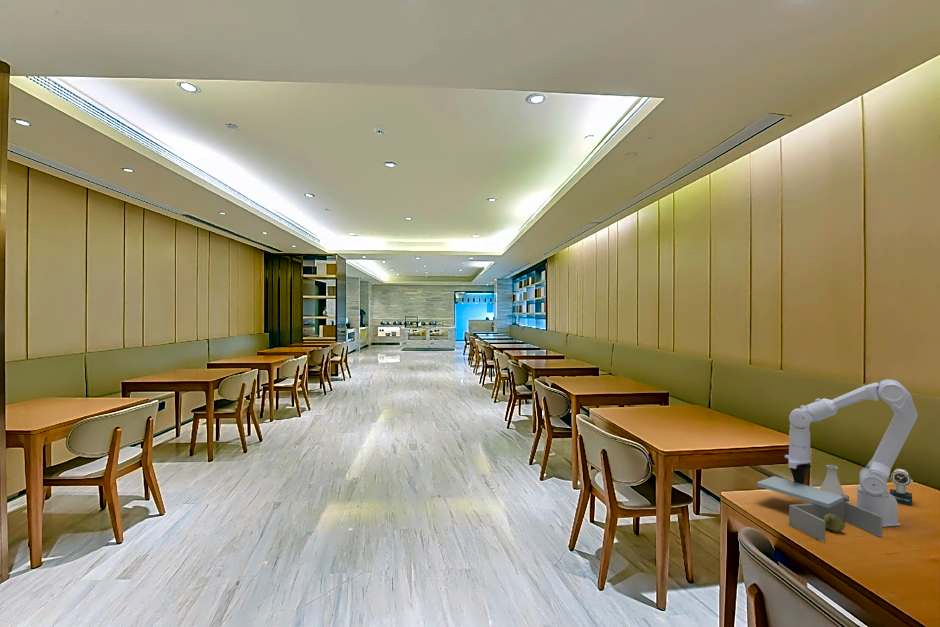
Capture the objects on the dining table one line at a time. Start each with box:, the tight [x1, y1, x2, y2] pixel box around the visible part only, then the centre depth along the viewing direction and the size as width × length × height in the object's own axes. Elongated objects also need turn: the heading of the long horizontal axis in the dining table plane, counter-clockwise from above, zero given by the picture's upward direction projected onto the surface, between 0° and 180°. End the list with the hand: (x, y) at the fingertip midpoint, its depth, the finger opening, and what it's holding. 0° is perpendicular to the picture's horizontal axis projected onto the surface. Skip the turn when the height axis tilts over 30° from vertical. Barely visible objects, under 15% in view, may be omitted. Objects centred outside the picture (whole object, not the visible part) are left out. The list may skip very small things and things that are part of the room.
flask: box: [819, 464, 845, 495], centre depth 160 cm, size 7×7×10 cm
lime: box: [823, 514, 846, 533], centre depth 132 cm, size 4×5×5 cm
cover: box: [756, 475, 850, 508], centre depth 144 cm, size 21×13×1 cm, turn 31°
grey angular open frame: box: [788, 501, 883, 542], centre depth 132 cm, size 20×11×6 cm, turn 100°
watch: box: [889, 468, 914, 507], centre depth 154 cm, size 6×8×11 cm
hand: (798, 485), depth 150 cm, fingers closed
